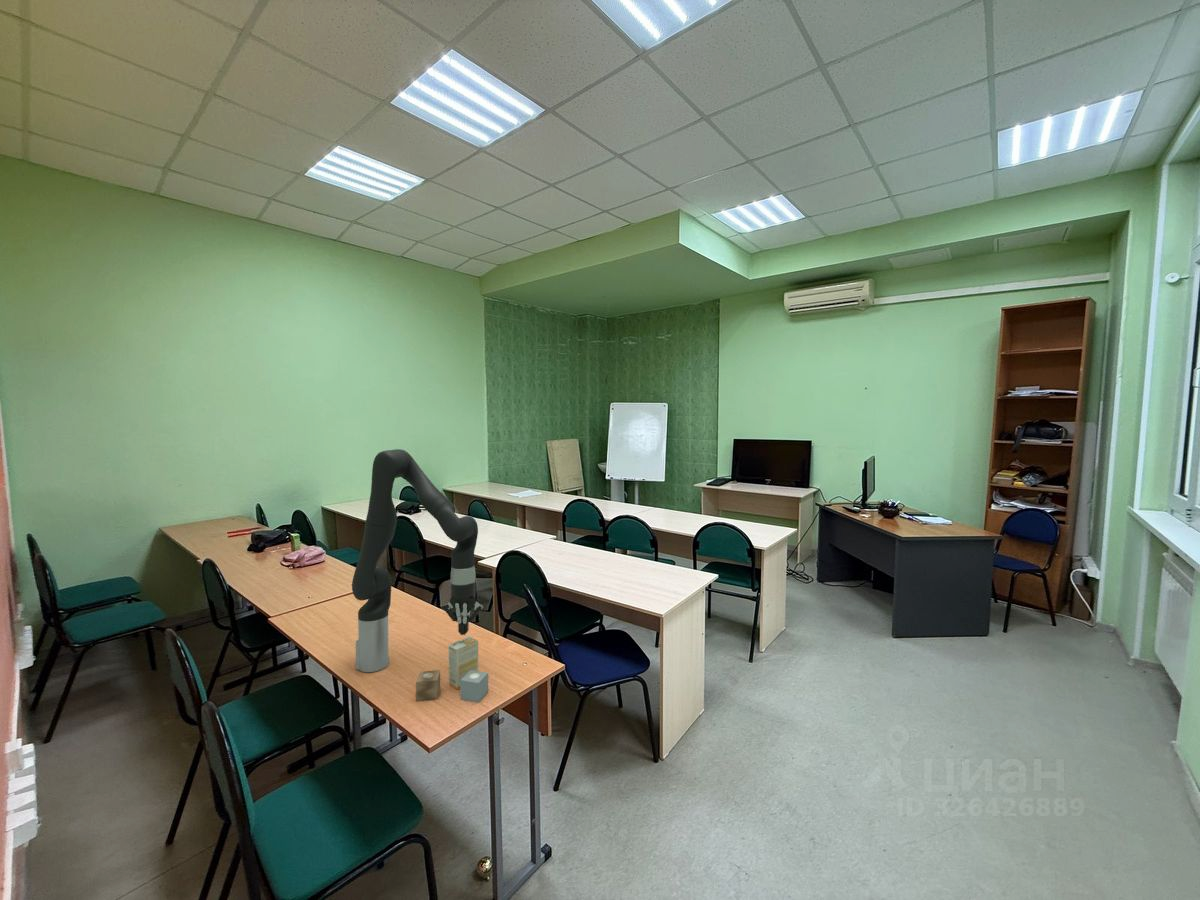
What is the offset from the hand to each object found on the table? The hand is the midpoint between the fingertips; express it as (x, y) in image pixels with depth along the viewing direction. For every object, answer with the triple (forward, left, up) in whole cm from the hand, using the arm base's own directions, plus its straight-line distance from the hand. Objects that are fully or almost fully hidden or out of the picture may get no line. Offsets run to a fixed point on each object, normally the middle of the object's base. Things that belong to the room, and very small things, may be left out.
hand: (463, 633), depth 149 cm
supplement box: (0, 0, -16) cm, 16 cm away
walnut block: (-8, -8, -16) cm, 19 cm away
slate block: (+6, -7, -16) cm, 18 cm away
